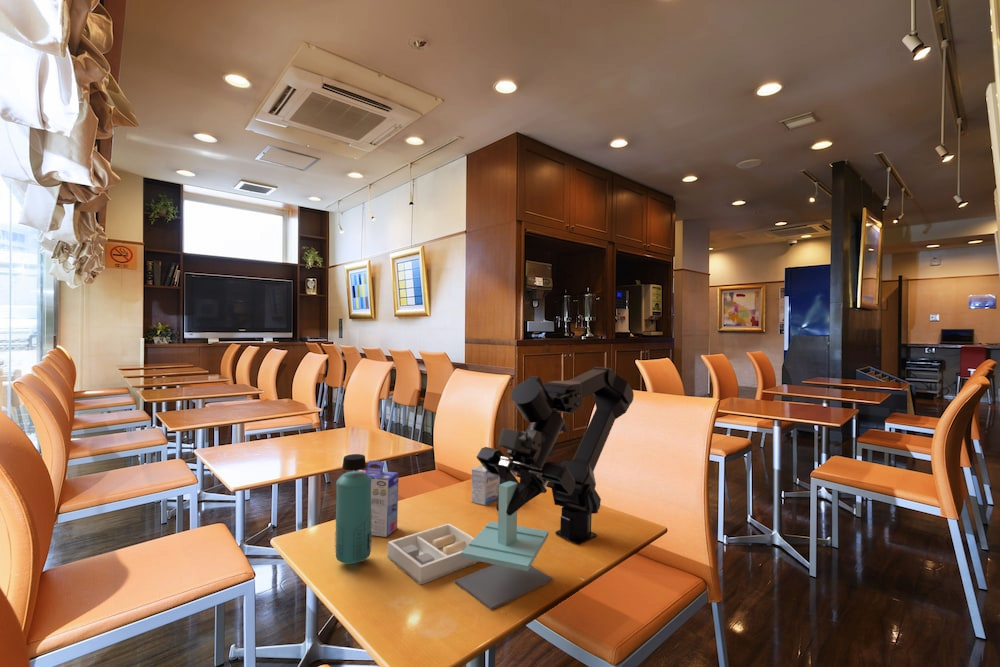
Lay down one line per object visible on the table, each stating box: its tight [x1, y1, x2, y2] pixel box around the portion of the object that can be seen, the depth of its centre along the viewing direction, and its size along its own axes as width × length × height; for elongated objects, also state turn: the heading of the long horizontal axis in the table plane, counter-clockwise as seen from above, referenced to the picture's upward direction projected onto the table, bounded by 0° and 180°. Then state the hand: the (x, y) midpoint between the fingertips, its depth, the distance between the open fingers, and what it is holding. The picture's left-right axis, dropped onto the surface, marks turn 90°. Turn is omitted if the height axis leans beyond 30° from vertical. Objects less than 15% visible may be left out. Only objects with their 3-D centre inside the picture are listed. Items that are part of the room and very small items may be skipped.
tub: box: [387, 522, 481, 586], centre depth 88 cm, size 14×12×3 cm
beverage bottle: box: [334, 453, 373, 564], centre depth 86 cm, size 6×7×20 cm
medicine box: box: [470, 464, 500, 507], centre depth 120 cm, size 8×4×9 cm, turn 147°
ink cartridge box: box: [357, 460, 399, 538], centre depth 100 cm, size 10×6×14 cm, turn 78°
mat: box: [454, 564, 554, 611], centre depth 81 cm, size 14×10×1 cm
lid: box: [461, 481, 549, 571], centre depth 81 cm, size 13×11×11 cm
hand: (503, 512), depth 80 cm, fingers closed on lid
